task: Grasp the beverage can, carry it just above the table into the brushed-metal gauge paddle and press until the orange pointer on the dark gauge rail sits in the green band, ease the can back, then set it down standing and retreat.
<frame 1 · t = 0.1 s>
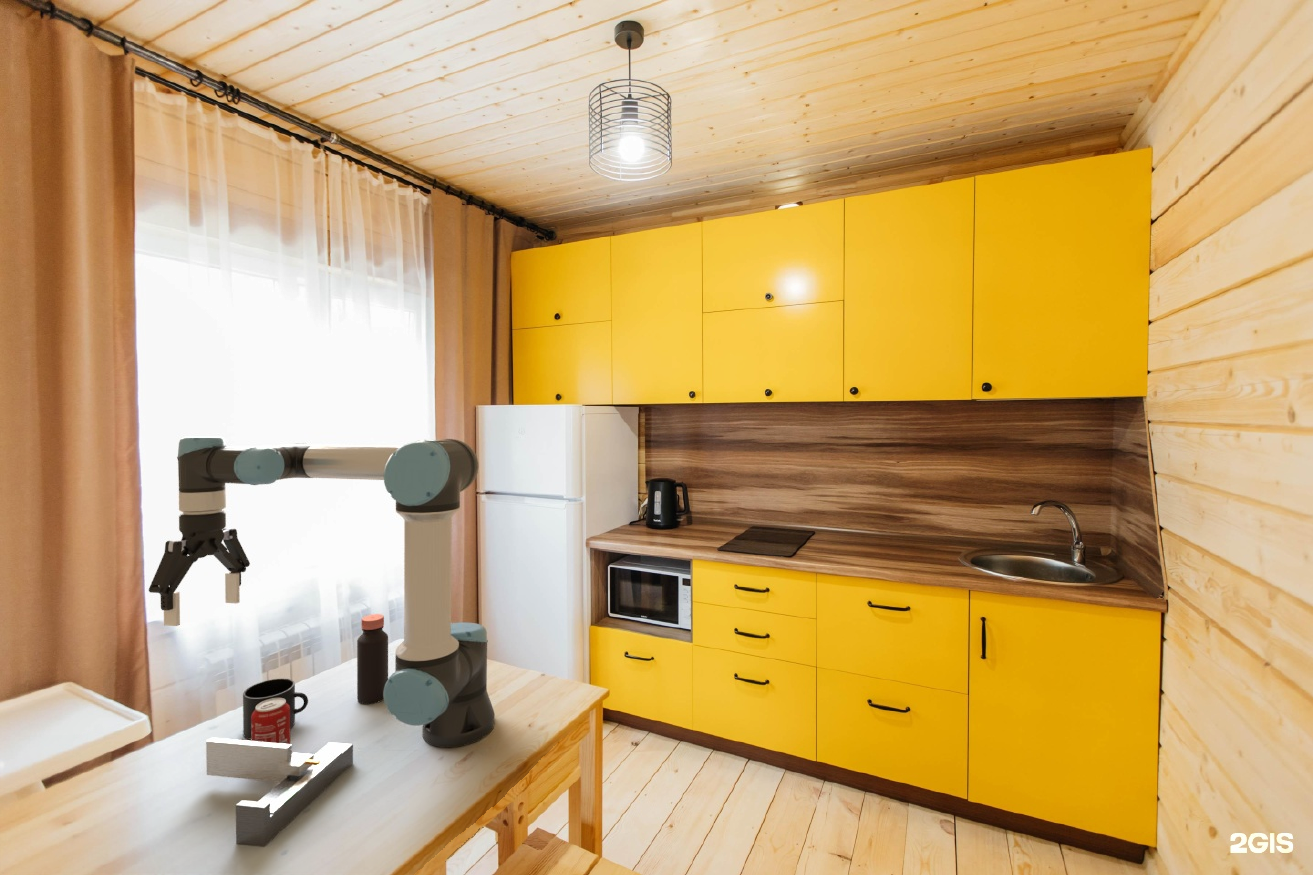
hand: (204, 613, 117), 28 cm above the table, fingers open, 13 cm apart
beverage can: (271, 764, 112), on the table
gauge housing: (300, 799, 102), on the table
bottle: (372, 698, 139), on the table
mug: (276, 727, 125), on the table
gauge paddle: (263, 760, 104), point 6 cm above the table, slide at 0.0 cm
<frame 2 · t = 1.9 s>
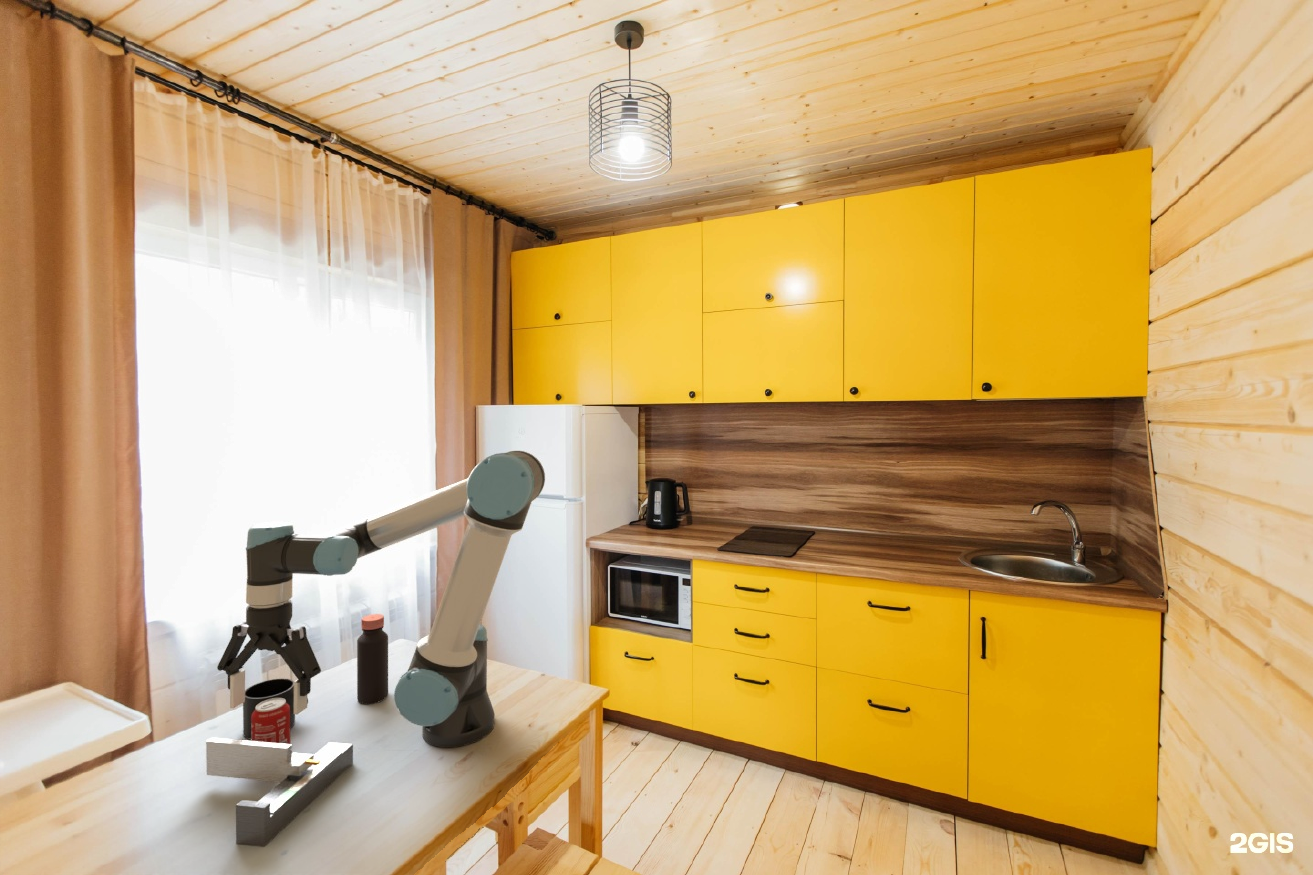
hand: (268, 708, 112), 11 cm above the table, fingers open, 13 cm apart
nothing on the table moved.
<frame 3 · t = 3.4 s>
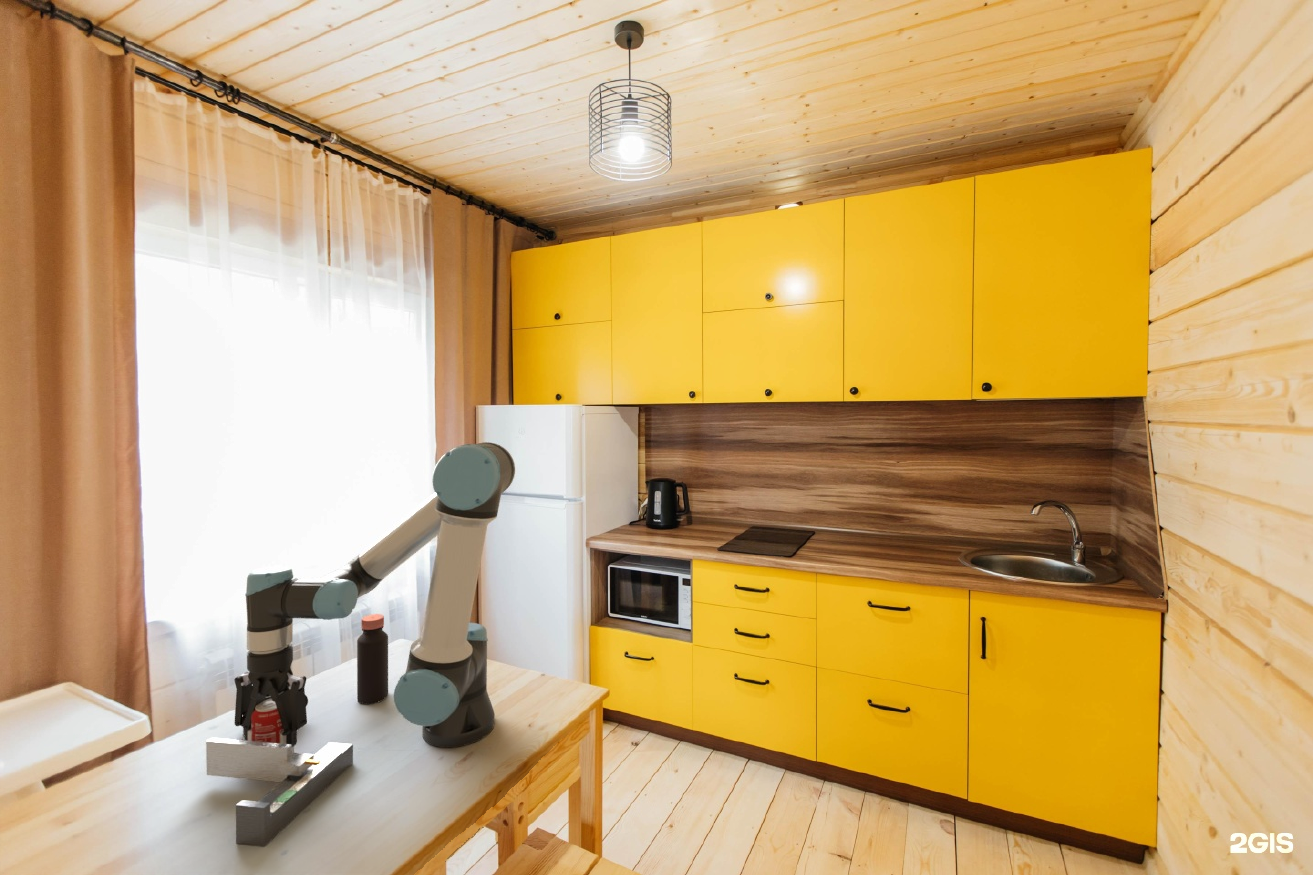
hand: (271, 760, 112), 0 cm above the table, fingers closed on beverage can, 6 cm apart
beverage can: (271, 763, 112), on the table, touching gripper
everything else where it was.
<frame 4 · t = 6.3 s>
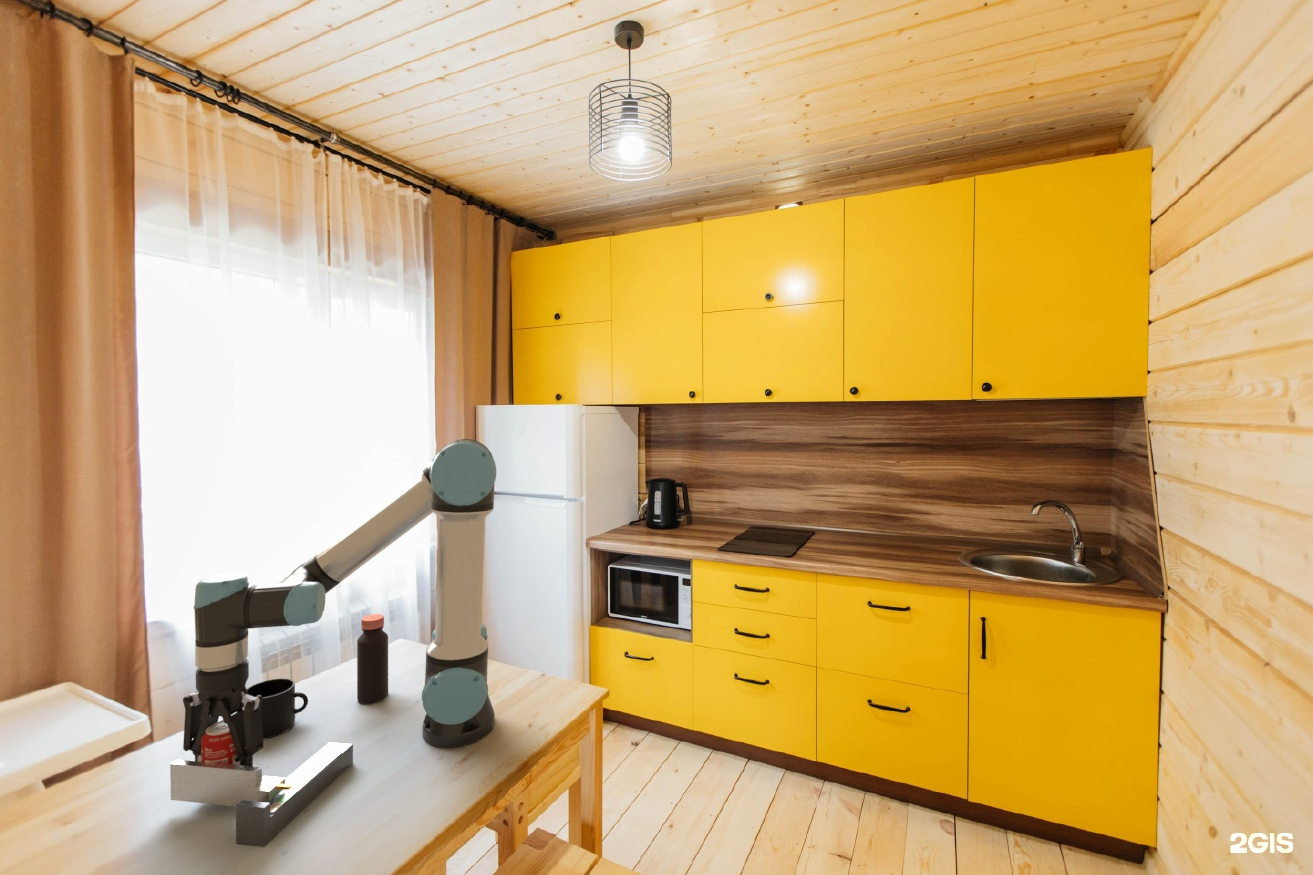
hand: (224, 788, 102), 2 cm above the table, fingers closed on beverage can, 6 cm apart
beverage can: (224, 792, 102), point 1 cm above the table, touching gripper
gauge paddle: (231, 785, 97), point 6 cm above the table, slide at 6.9 cm
everything else where it was.
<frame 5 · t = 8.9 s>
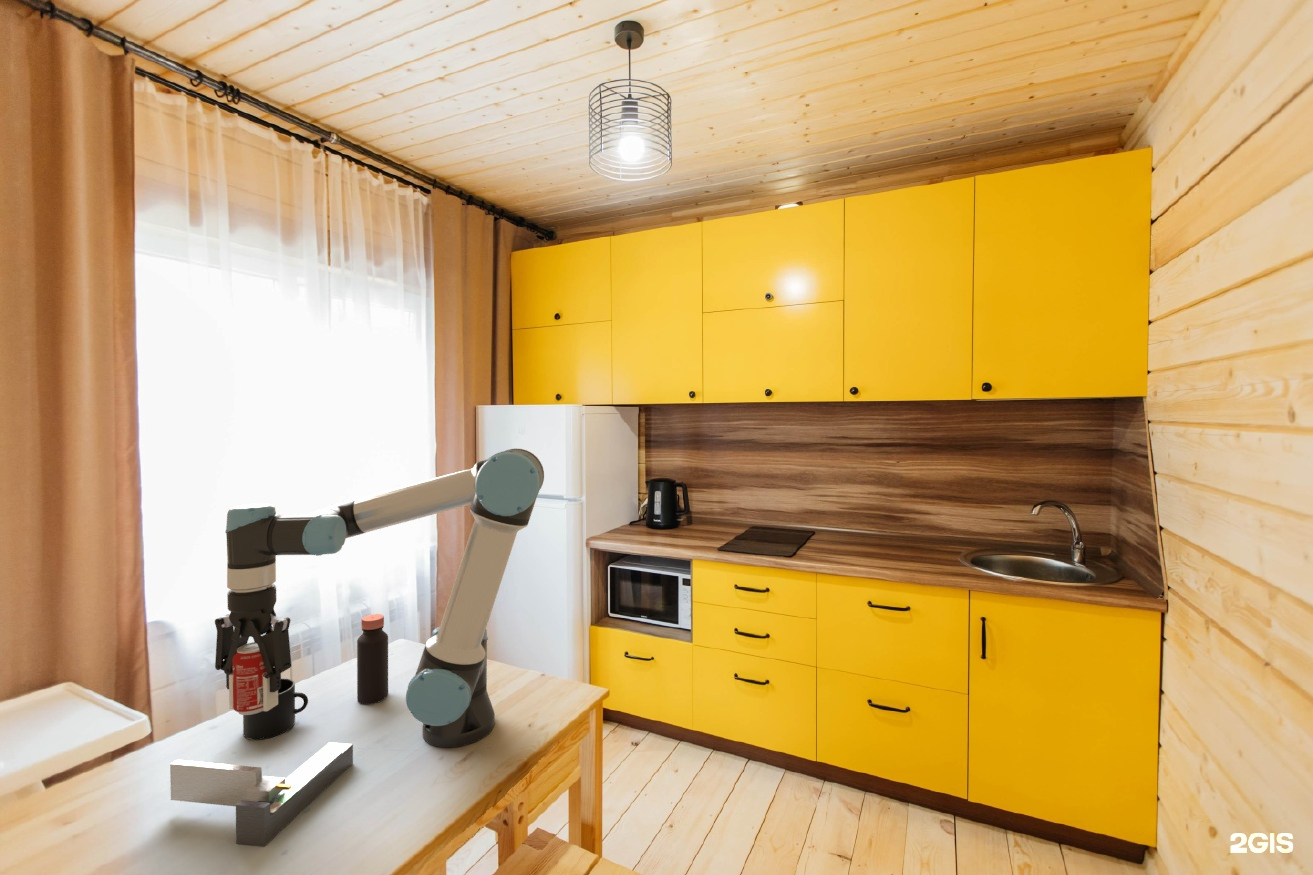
hand: (254, 706, 108), 14 cm above the table, fingers closed on beverage can, 6 cm apart
beverage can: (254, 709, 108), point 13 cm above the table, touching gripper
everything else where it was.
when the fingers open (2 cm above the table, at t = 11.0 s): beverage can drops 1 cm, on the table.
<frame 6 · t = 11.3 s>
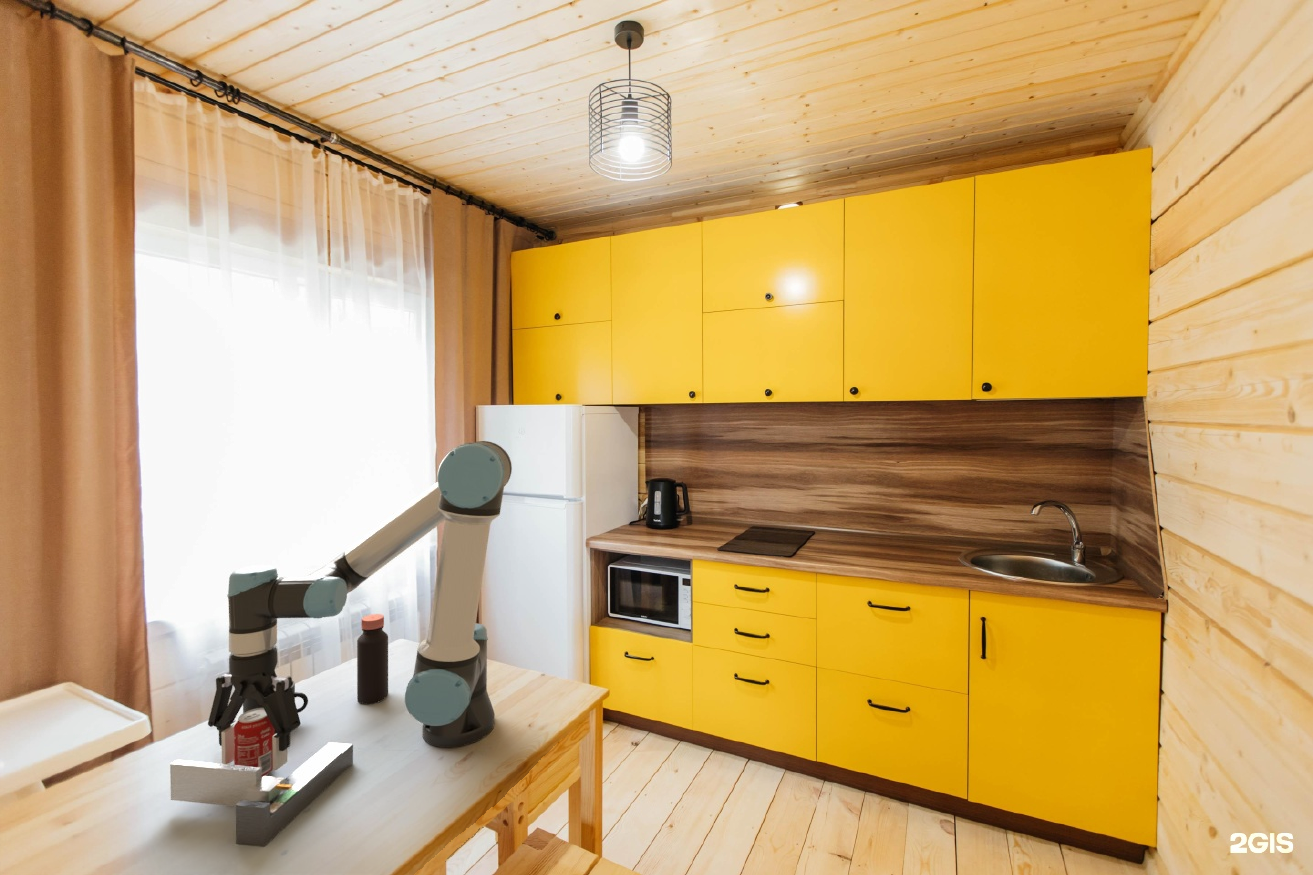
hand: (254, 763, 108), 2 cm above the table, fingers open, 10 cm apart
beverage can: (255, 776, 108), on the table
everything else where it was.
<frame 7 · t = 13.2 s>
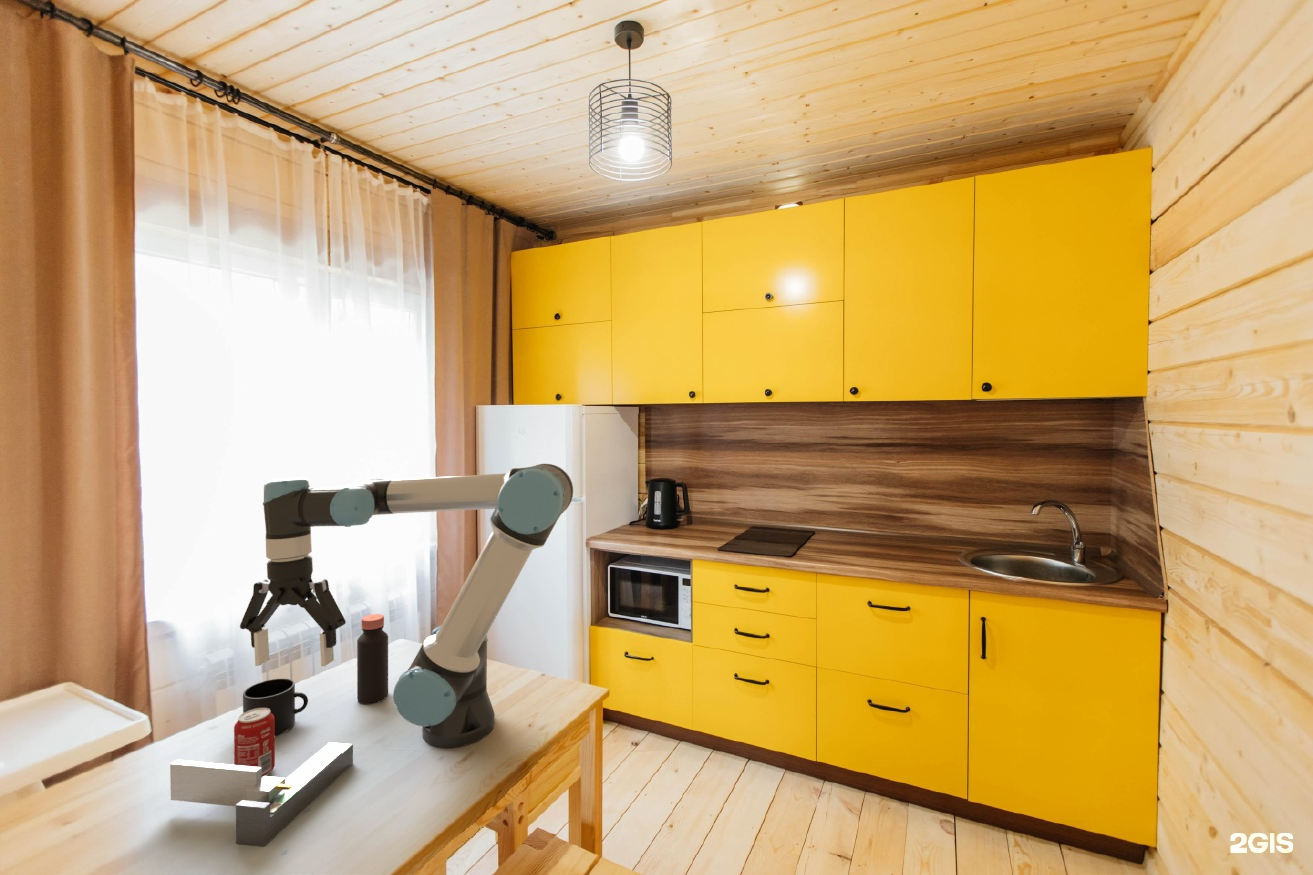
hand: (294, 663, 112), 20 cm above the table, fingers open, 13 cm apart
nothing on the table moved.
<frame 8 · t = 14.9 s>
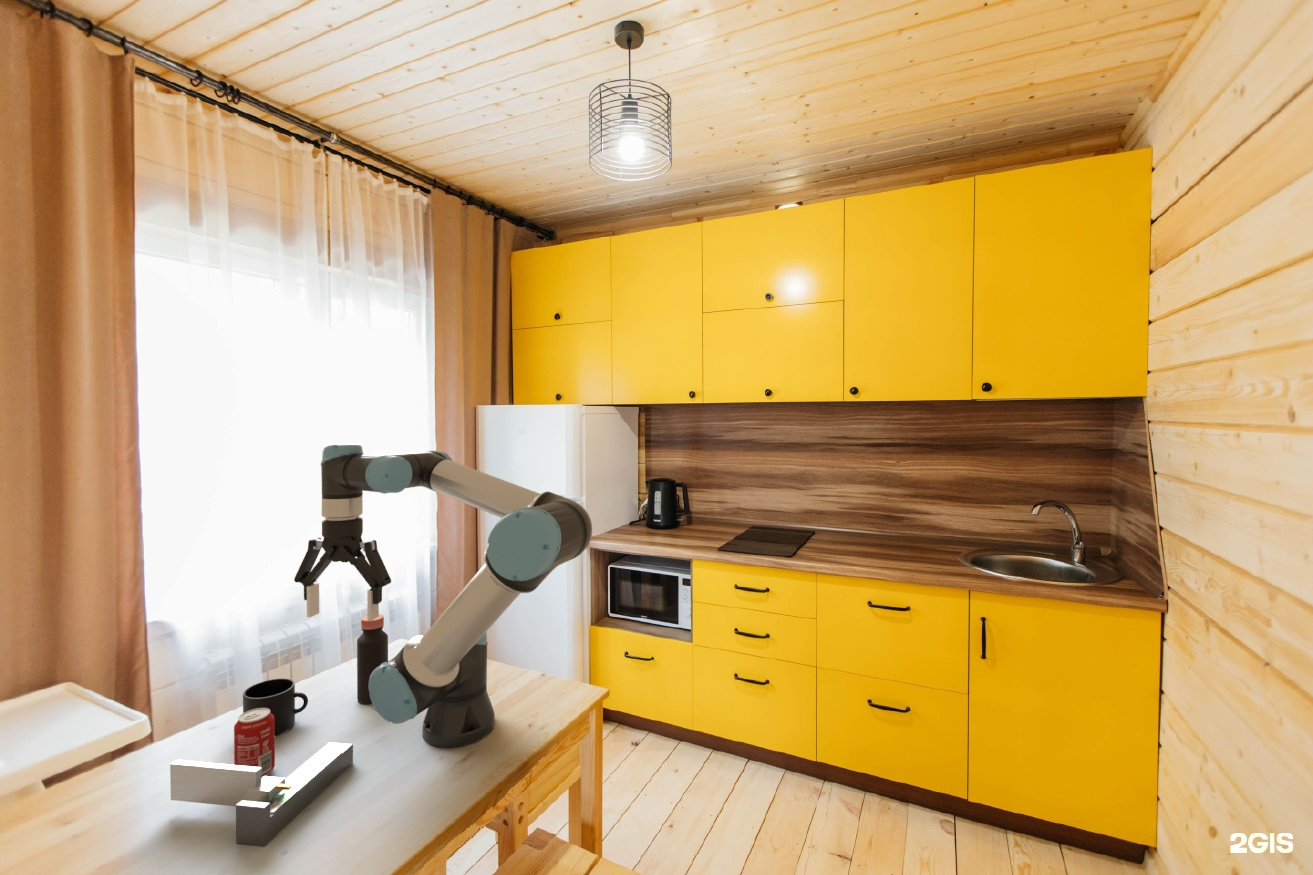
hand: (342, 617, 119), 27 cm above the table, fingers open, 13 cm apart
nothing on the table moved.
at the end: gauge paddle slide at 6.9 cm; beverage can tilted 0°; the gripper is holding nothing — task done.
